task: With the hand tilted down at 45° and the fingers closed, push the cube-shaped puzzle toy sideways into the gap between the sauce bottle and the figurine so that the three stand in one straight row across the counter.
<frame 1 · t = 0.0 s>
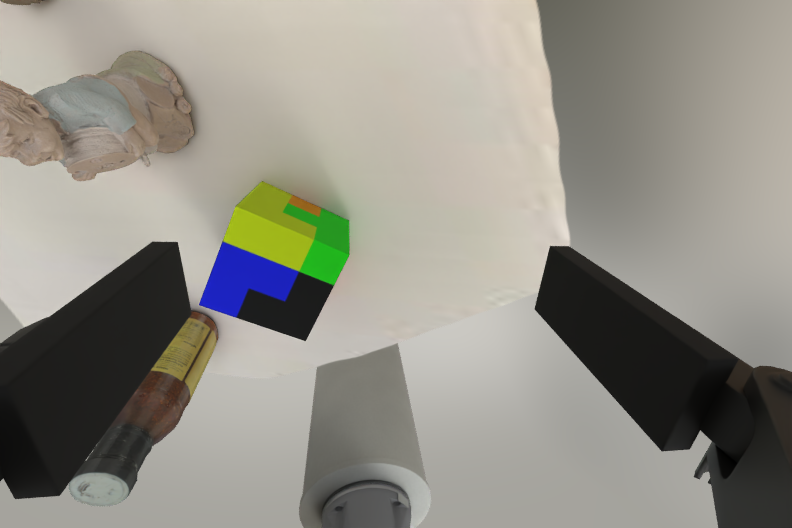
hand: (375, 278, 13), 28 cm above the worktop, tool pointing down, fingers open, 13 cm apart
sauce bottle: (195, 330, 45), on the worktop
figurine: (152, 109, 35), on the worktop
puzzle toy: (290, 239, 41), on the worktop
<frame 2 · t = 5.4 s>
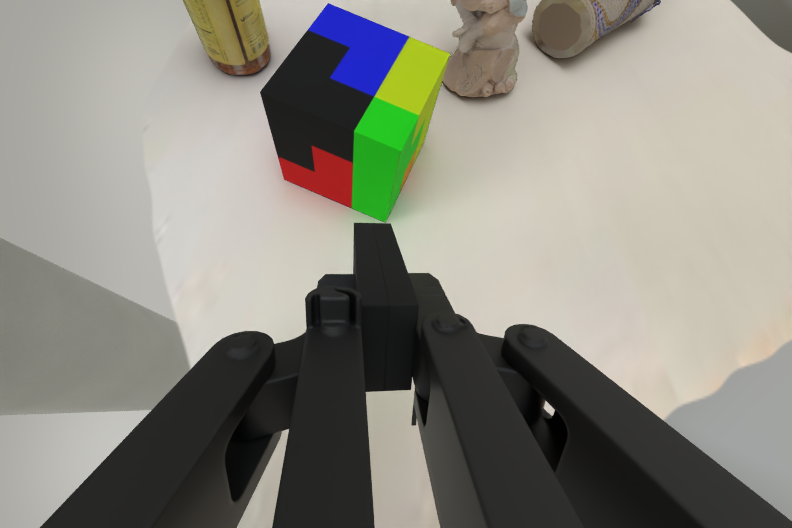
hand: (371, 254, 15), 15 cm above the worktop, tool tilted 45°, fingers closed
decorative bottle: (603, 25, 47), on the worktop
sauce bottle: (240, 59, 38), on the worktop
figurine: (473, 77, 41), on the worktop
puzzle toy: (357, 161, 35), on the worktop
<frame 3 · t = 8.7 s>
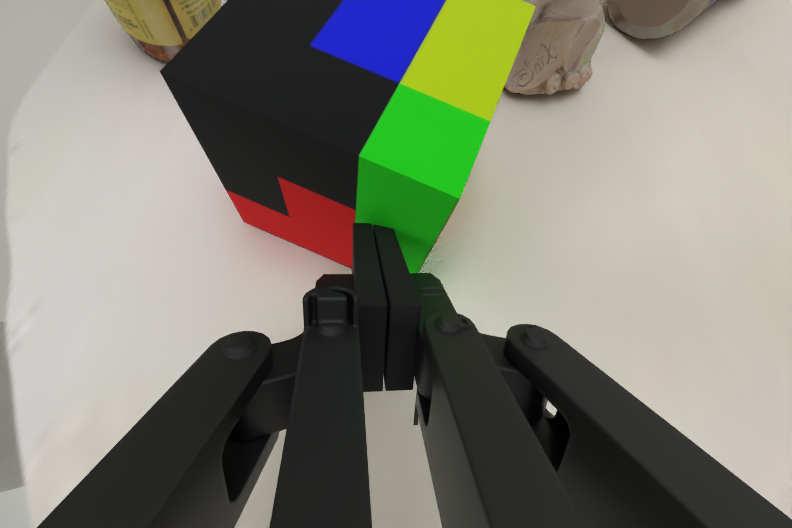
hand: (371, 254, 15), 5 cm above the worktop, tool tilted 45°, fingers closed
sauce bottle: (180, 38, 25), on the worktop
figurine: (526, 66, 28), on the worktop
puzzle toy: (361, 189, 22), on the worktop, touching gripper
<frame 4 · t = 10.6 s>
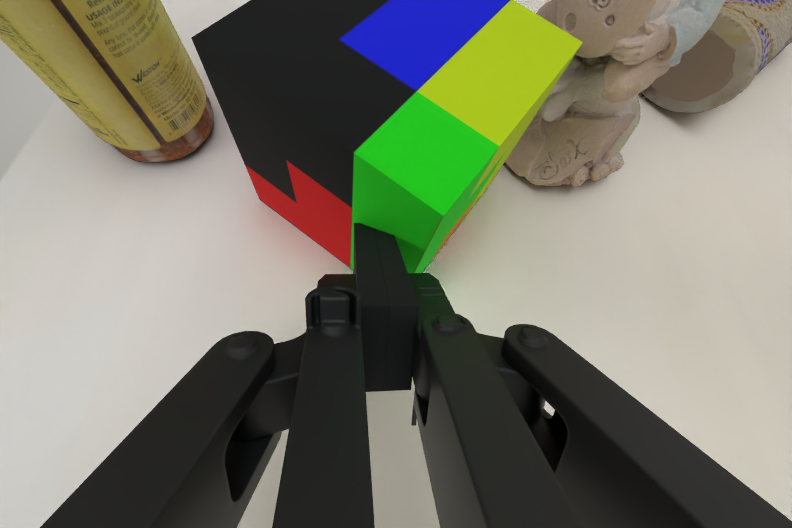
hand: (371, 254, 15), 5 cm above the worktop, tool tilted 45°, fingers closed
decorative bottle: (726, 54, 32), on the worktop
sauce bottle: (161, 129, 22), on the worktop
figurine: (546, 147, 25), on the worktop
puzzle toy: (380, 193, 22), on the worktop, touching gripper
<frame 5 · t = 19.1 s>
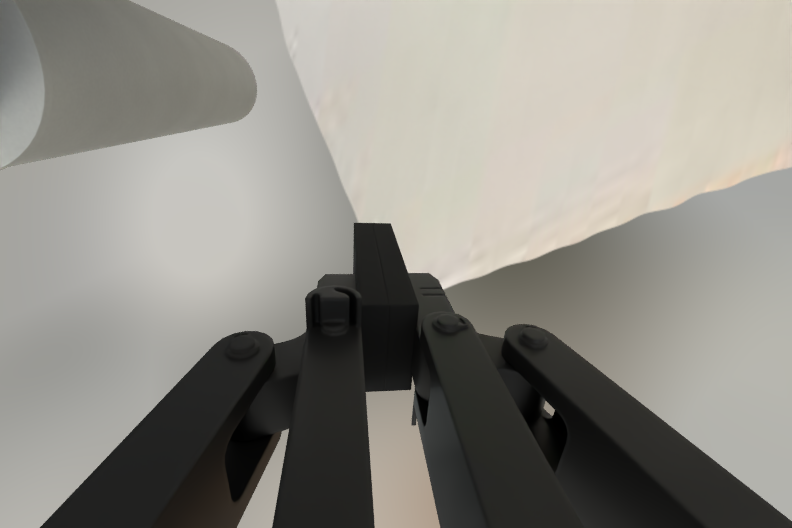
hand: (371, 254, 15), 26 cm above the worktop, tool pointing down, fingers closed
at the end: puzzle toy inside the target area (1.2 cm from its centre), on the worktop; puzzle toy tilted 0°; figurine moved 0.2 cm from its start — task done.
